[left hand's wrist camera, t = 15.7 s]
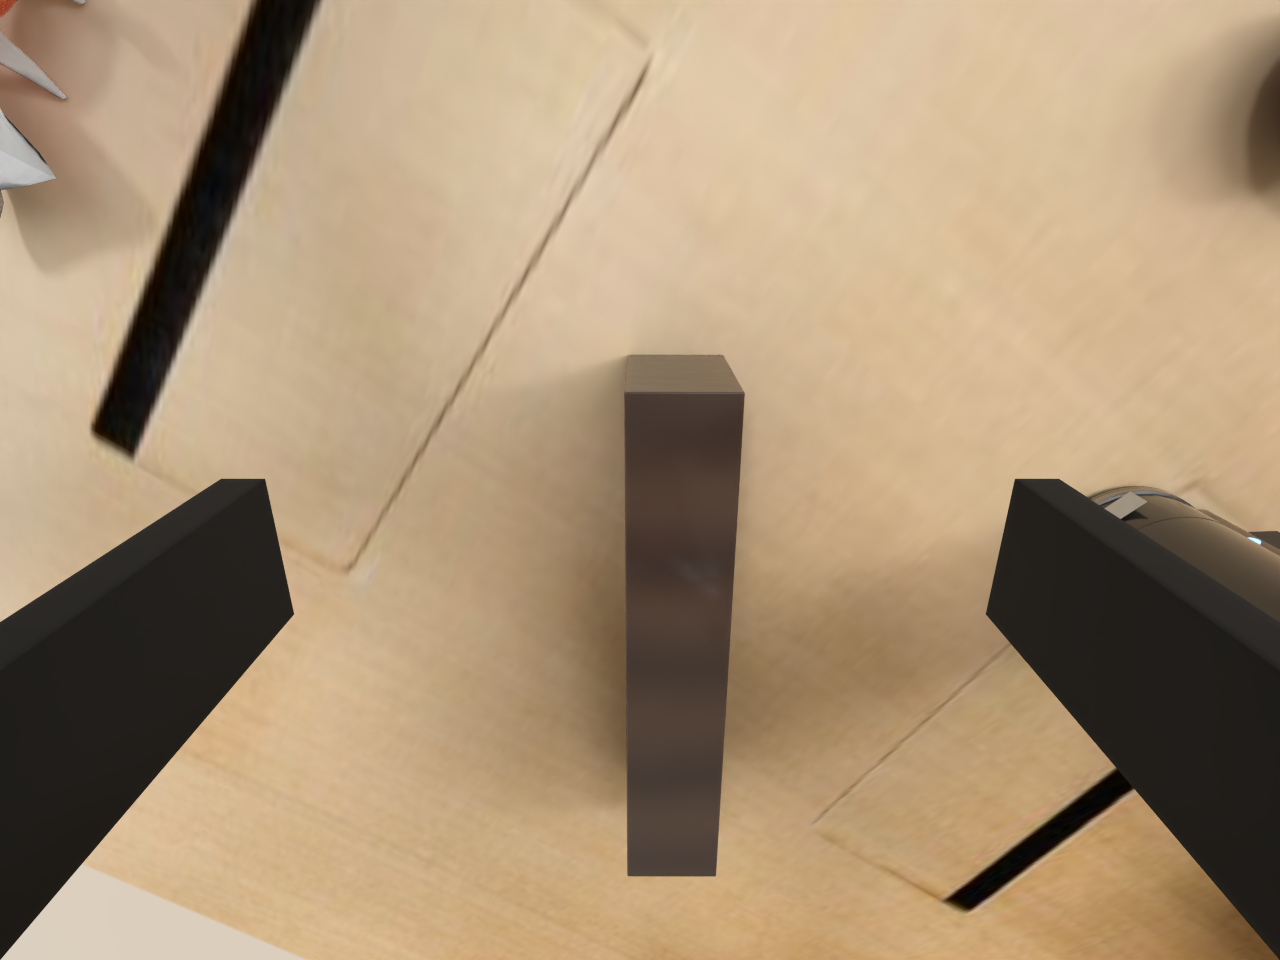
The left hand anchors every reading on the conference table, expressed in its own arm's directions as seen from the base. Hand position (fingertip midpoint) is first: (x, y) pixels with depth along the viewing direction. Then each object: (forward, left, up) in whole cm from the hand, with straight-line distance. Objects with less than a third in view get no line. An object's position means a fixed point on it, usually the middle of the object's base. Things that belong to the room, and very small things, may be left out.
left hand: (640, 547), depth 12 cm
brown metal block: (+15, -4, -25) cm, 29 cm away
